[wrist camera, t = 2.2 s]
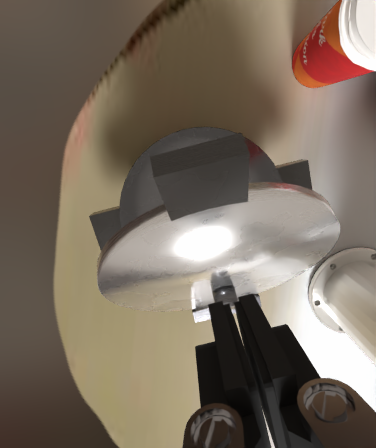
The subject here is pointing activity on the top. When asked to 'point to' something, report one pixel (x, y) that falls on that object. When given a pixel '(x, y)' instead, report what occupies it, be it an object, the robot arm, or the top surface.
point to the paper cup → (338, 45)
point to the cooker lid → (214, 233)
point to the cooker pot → (150, 197)
